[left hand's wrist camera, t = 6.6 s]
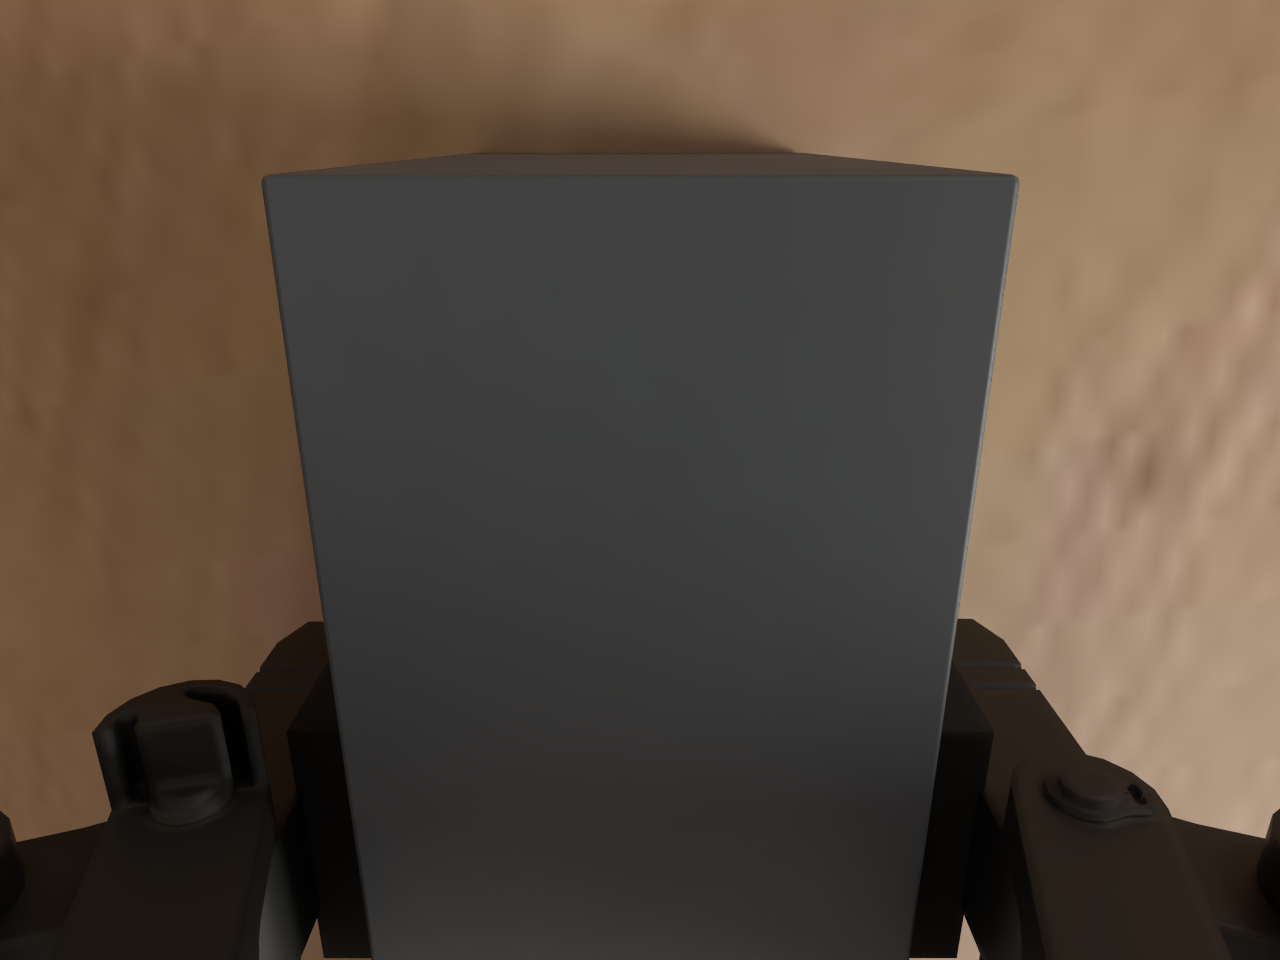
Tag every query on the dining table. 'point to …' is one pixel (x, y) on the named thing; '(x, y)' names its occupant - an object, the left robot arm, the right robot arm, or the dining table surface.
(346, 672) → the beam
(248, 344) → the dining table surface
